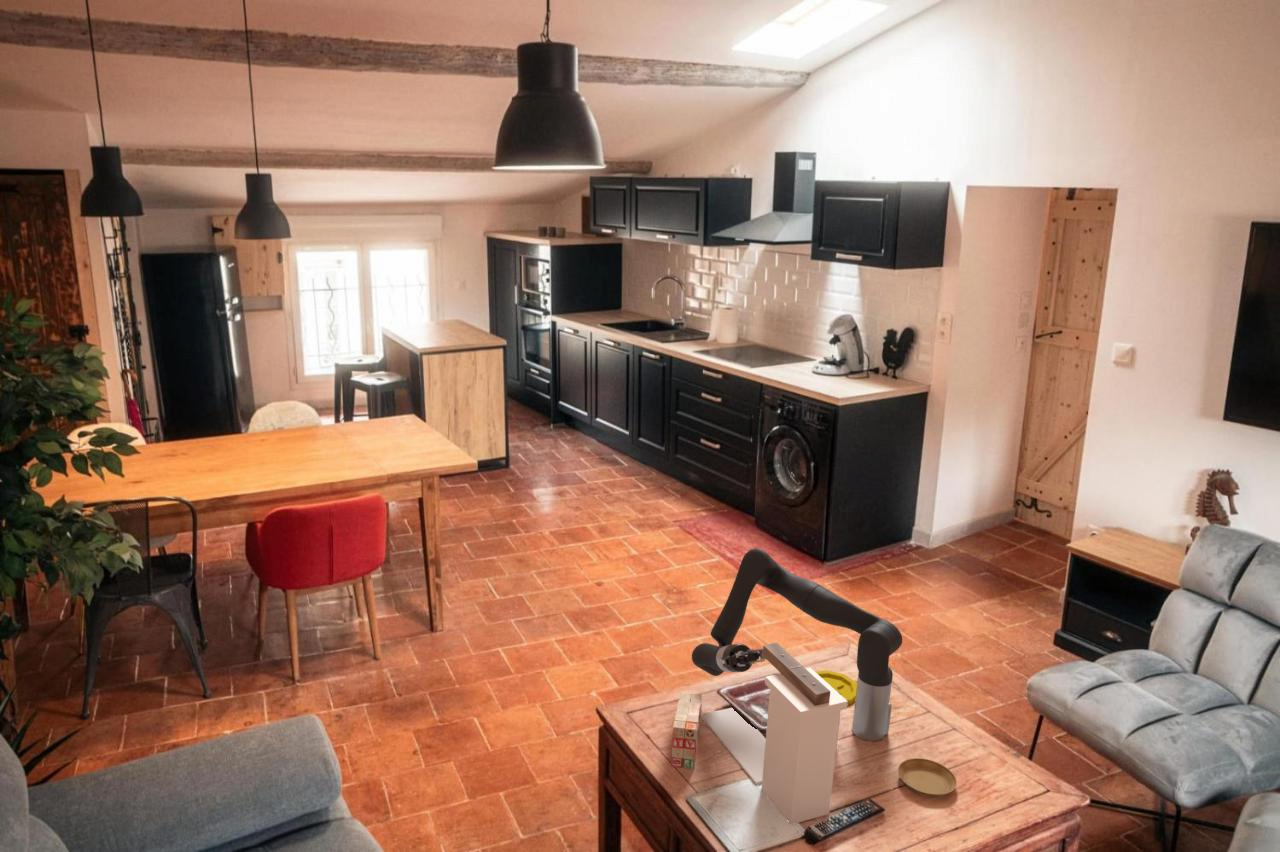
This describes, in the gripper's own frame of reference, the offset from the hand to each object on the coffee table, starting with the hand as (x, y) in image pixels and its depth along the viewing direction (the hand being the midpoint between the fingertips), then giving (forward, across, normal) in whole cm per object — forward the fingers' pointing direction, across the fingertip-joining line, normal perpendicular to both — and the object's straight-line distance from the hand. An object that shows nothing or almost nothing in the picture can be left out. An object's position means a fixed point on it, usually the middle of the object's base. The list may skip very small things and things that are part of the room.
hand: (761, 656), depth 235 cm
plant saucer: (+8, +36, +39) cm, 54 cm away
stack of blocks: (-24, -16, +21) cm, 35 cm away
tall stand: (+3, 0, +36) cm, 36 cm away
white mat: (-19, 0, +23) cm, 30 cm away
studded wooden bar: (+15, 0, +6) cm, 16 cm away
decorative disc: (-32, +38, +16) cm, 52 cm away
